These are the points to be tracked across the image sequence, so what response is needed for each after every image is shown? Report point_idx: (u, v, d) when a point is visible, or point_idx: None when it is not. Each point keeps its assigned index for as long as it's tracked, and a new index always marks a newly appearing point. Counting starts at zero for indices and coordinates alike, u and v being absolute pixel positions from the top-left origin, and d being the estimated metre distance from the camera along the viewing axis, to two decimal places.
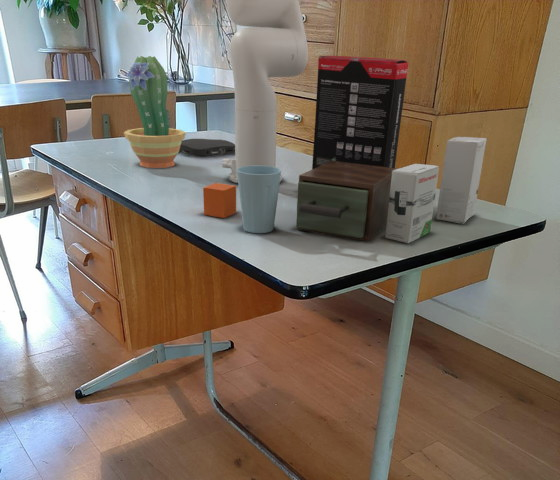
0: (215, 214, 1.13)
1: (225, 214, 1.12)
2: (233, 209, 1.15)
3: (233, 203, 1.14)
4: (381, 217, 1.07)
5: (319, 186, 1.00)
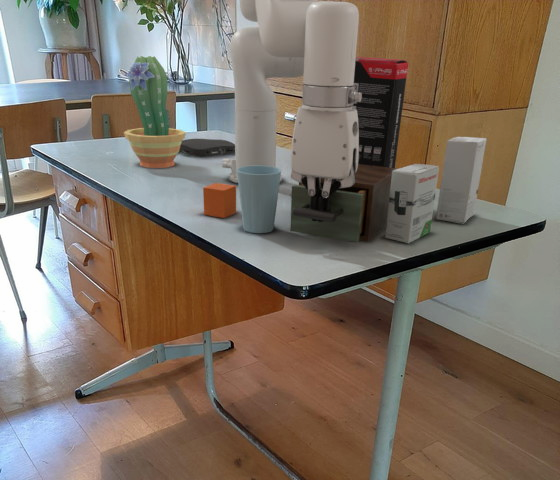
0: (215, 214, 1.13)
1: (225, 214, 1.12)
2: (233, 209, 1.15)
3: (233, 203, 1.14)
4: (381, 217, 1.07)
5: None
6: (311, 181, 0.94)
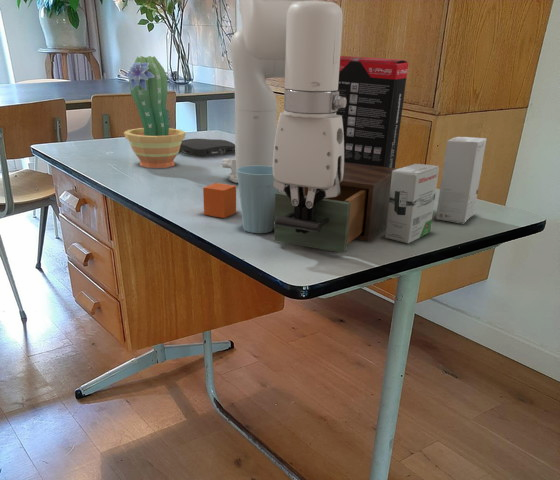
0: (215, 214, 1.13)
1: (225, 214, 1.12)
2: (233, 209, 1.15)
3: (233, 203, 1.14)
4: (381, 217, 1.07)
5: None
6: (294, 191, 0.89)
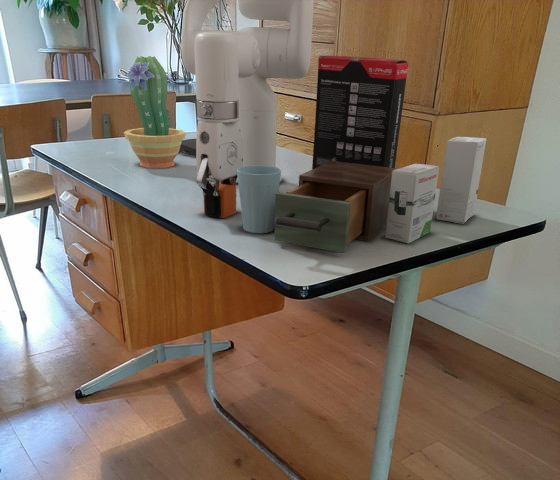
0: None
1: (225, 214, 1.12)
2: (233, 209, 1.15)
3: (233, 203, 1.14)
4: (381, 217, 1.07)
5: (298, 197, 0.93)
6: None
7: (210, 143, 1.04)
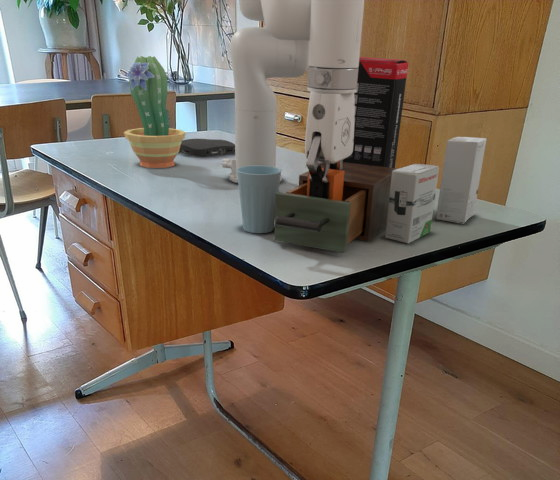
0: None
1: None
2: (339, 198, 0.98)
3: (340, 191, 0.97)
4: (381, 217, 1.07)
5: (298, 197, 0.93)
6: None
7: (326, 118, 0.87)
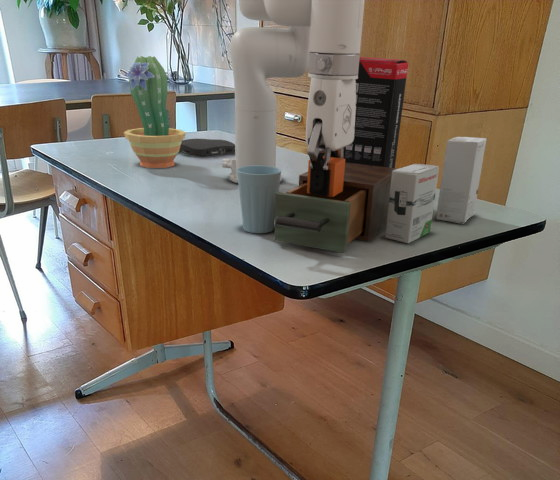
0: None
1: (334, 192, 0.95)
2: (340, 186, 0.97)
3: (341, 179, 0.97)
4: (381, 217, 1.07)
5: (298, 197, 0.93)
6: None
7: (327, 105, 0.86)
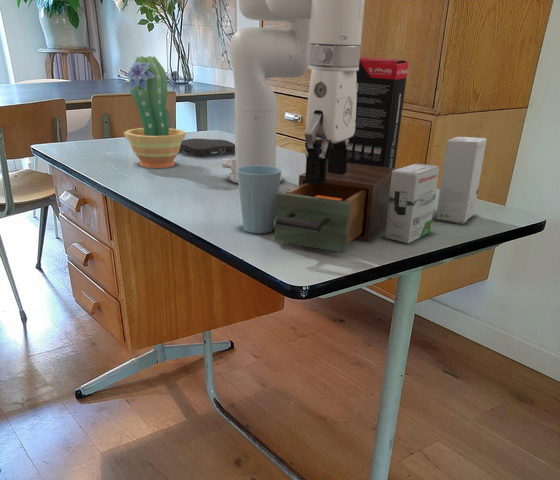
0: None
1: None
2: None
3: None
4: (381, 217, 1.07)
5: (298, 197, 0.93)
6: None
7: (327, 96, 0.86)
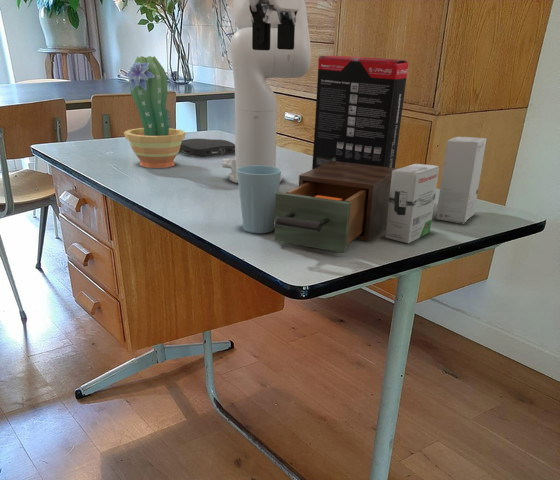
0: None
1: None
2: None
3: None
4: (381, 217, 1.07)
5: (298, 197, 0.93)
6: None
7: None
